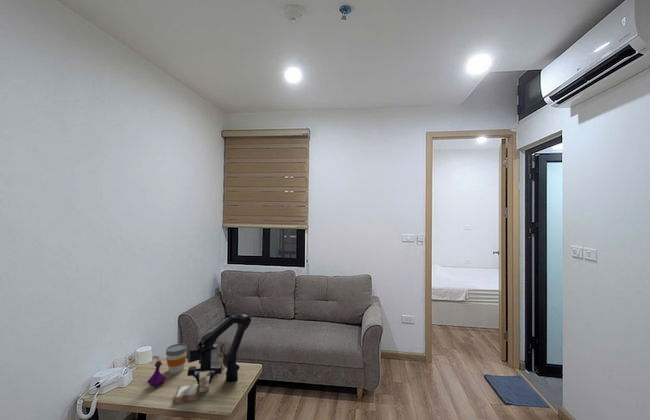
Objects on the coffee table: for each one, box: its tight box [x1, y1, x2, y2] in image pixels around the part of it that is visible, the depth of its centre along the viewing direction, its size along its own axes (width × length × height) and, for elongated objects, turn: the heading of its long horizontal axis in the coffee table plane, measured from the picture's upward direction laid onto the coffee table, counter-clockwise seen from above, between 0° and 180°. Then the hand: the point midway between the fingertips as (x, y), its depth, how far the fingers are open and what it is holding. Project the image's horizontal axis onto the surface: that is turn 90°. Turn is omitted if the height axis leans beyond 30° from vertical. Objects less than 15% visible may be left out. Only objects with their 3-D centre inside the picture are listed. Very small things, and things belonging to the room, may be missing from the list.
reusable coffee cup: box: [165, 343, 188, 375], centre depth 202 cm, size 13×13×15 cm
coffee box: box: [208, 341, 226, 373], centre depth 202 cm, size 9×6×16 cm
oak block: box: [200, 375, 211, 393], centre depth 179 cm, size 5×5×6 cm
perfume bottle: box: [147, 354, 167, 388], centre depth 184 cm, size 8×8×18 cm
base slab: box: [173, 382, 201, 405], centre depth 173 cm, size 12×12×3 cm
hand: (204, 384), depth 179 cm, fingers open, 5 cm apart
